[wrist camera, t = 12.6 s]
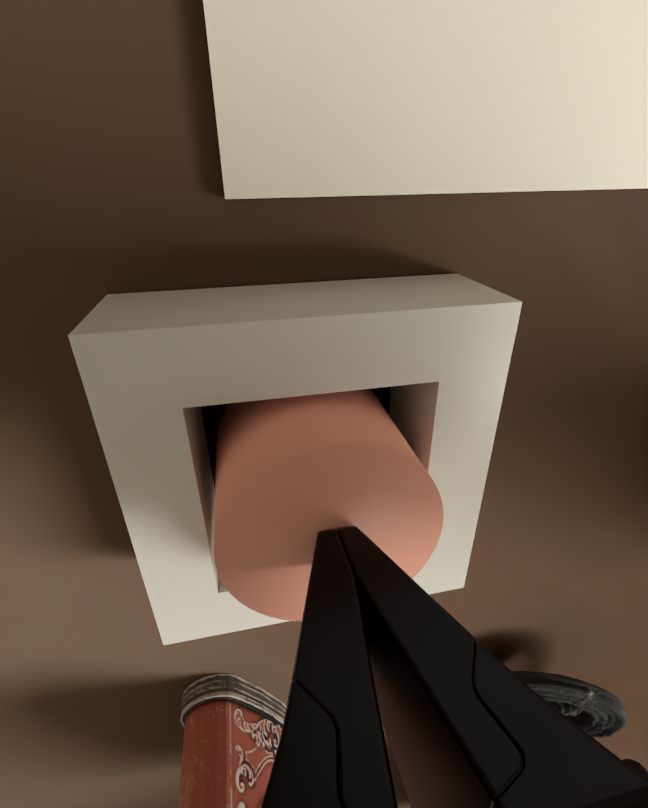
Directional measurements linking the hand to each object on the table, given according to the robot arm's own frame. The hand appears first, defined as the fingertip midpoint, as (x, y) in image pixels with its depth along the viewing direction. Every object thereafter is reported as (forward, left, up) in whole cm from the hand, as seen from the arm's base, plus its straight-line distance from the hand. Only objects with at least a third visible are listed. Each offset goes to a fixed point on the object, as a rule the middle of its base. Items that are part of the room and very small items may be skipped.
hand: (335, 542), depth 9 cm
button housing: (0, 0, -5) cm, 5 cm away
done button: (0, 0, -4) cm, 4 cm away
